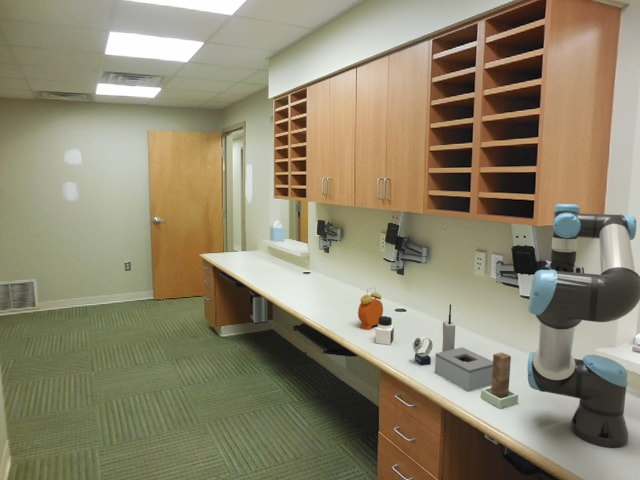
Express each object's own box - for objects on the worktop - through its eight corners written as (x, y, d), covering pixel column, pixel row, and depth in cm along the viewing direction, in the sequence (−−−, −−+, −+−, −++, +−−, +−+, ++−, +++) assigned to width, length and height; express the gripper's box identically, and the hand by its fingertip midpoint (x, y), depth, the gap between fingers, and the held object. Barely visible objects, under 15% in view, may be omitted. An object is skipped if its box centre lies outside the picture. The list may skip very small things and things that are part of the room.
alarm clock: (373, 322, 250) (374, 285, 247) (383, 324, 246) (383, 287, 243) (357, 328, 241) (357, 289, 238) (366, 331, 236) (367, 291, 233)
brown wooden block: (508, 400, 165) (510, 356, 163) (499, 402, 164) (502, 358, 161) (498, 395, 169) (501, 352, 167) (490, 397, 167) (493, 354, 165)
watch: (410, 361, 200) (411, 336, 198) (427, 358, 202) (428, 334, 201) (416, 366, 195) (417, 340, 193) (434, 364, 197) (435, 338, 195)
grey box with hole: (495, 383, 180) (497, 363, 178) (468, 391, 173) (469, 370, 172) (461, 365, 195) (462, 347, 194) (434, 372, 189) (435, 353, 188)
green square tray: (517, 403, 165) (518, 394, 164) (500, 408, 161) (500, 400, 160) (498, 392, 172) (498, 384, 172) (480, 397, 168) (481, 389, 168)
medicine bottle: (390, 345, 218) (391, 320, 216) (375, 343, 220) (375, 318, 218) (393, 340, 224) (394, 315, 223) (378, 338, 227) (379, 313, 225)
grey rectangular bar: (449, 359, 202) (452, 302, 198) (453, 363, 197) (456, 305, 193) (441, 359, 202) (443, 302, 198) (444, 364, 197) (447, 305, 193)
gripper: (607, 255, 152) (601, 319, 155) (539, 243, 173) (535, 300, 177) (592, 257, 148) (586, 322, 151) (525, 245, 170) (521, 303, 173)
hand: (558, 310), depth 164 cm, fingers open, 13 cm apart
